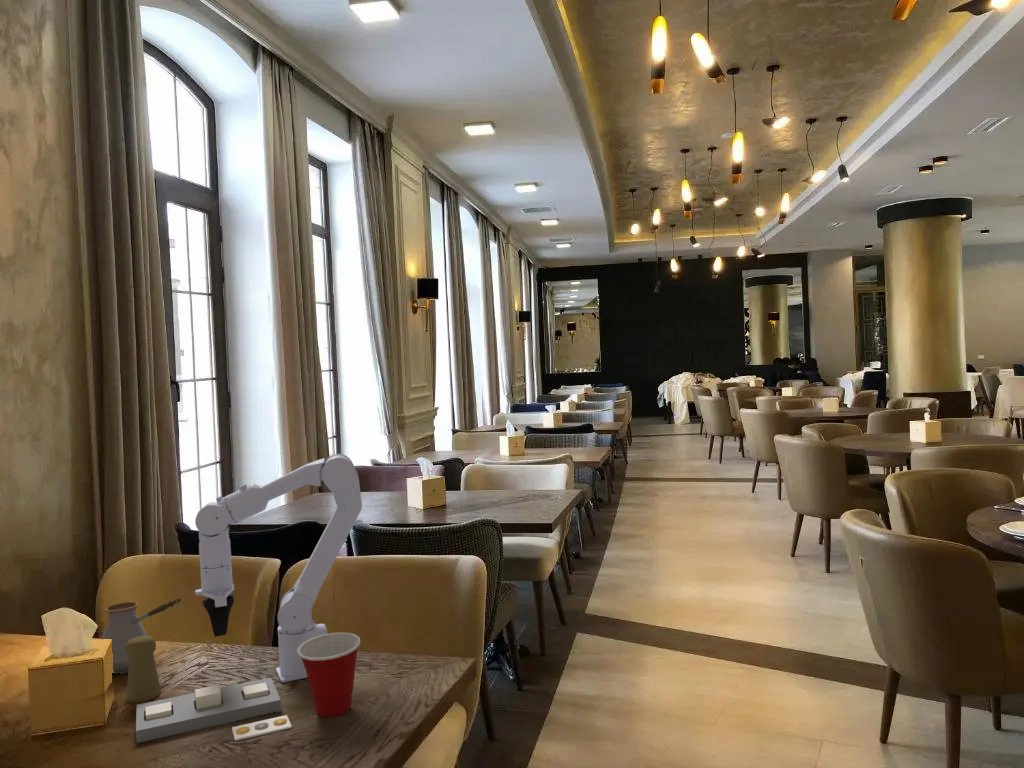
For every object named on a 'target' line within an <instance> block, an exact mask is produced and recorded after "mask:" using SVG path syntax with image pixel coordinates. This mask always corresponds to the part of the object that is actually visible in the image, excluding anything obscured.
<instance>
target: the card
mask: <svg viewBox="0 0 1024 768" xmlns="http://www.w3.org/2000/svg"><path fill="white" fill-rule="evenodd" d="M289 719H290V718H289V717H288V714H285V715H281V716H276V717H273V718H272V717H271V718H268V719H263V720H259V721H254V722H250V723H246V724H240V725H237V726H232V727H231V731H232V736H233V739H234V741H235V742H237V741H240V740H245V739H250V738H254V737H258V736H259V737H260V736H262V735H267V734H271V733H275V732H276V733H277V732H279V731H280V732H281V731H285V730H288V729H293V728H292V727H293V726H292V724H291V721H290V720H289Z"/></svg>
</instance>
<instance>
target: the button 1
mask: <svg viewBox="0 0 1024 768" xmlns="http://www.w3.org/2000/svg"><path fill="white" fill-rule="evenodd" d="M169 715H172V711H171V702H167V703H162V704H158V705H153V706H148V707H146V720H150V719H155V718H160V717H164V716H169Z"/></svg>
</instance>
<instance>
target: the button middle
mask: <svg viewBox="0 0 1024 768" xmlns="http://www.w3.org/2000/svg"><path fill="white" fill-rule="evenodd" d="M220 688H221V687H220V685H219V684H217V685H211V686H206V687H202V688H196V689H194V693H195V700H196V709H202V708H207V707H212V706H216V705H221V692H220Z"/></svg>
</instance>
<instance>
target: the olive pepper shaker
mask: <svg viewBox="0 0 1024 768" xmlns="http://www.w3.org/2000/svg"><path fill="white" fill-rule="evenodd" d="M156 647H157V643H156V639H155V638H154V636H152V635H148V636H139V637H135V638H132V639H131V640H129V641H128V642H127V644H126V653H127V655H128V656H129V670H128V672H127V684H126V685H127V686H126V697H125V698H126V701H127V702H130V703H139V702H140V703H141V702H146V701H149V700H152V699H155V698H157V697H159V696H160V695H161V693H162V689H161V683H160V679H159V675H158V674H159V673H158V670H157V664H156V659H155V655H154V652H155V651H156V649H157V648H156Z"/></svg>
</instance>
